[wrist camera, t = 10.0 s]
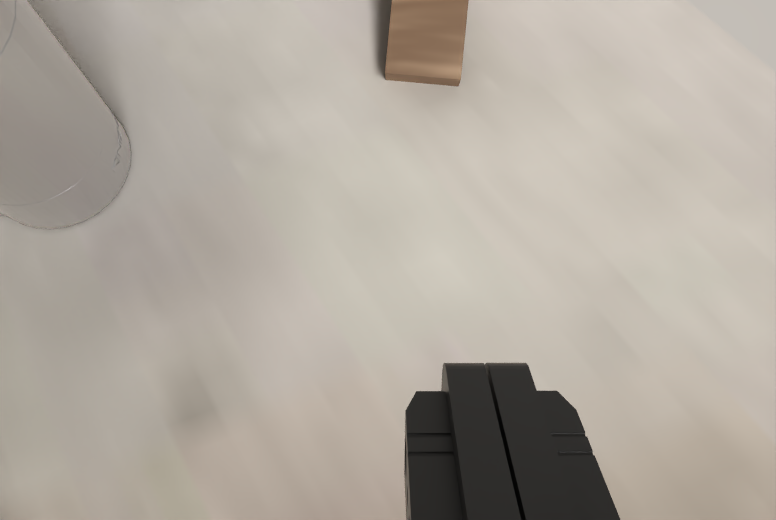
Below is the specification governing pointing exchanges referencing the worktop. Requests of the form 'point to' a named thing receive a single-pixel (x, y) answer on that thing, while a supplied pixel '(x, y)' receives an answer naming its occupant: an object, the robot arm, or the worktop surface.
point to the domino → (426, 41)
